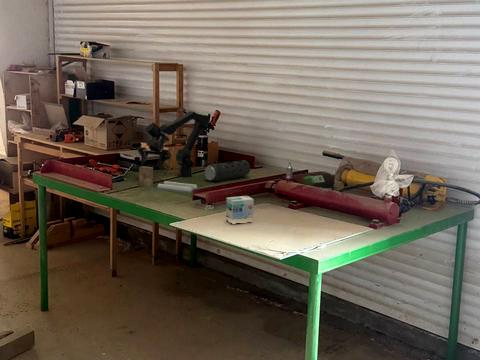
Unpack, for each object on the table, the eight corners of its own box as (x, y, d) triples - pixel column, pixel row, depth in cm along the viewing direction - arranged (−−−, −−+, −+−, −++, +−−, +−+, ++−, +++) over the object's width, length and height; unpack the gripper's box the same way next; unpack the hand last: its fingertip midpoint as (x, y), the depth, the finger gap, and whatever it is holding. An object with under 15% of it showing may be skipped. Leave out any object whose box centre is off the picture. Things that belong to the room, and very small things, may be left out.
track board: (166, 185, 321) (166, 180, 320) (197, 189, 314) (197, 184, 314) (156, 189, 311) (156, 184, 310) (189, 193, 304) (189, 188, 304)
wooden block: (142, 184, 321) (142, 166, 319) (152, 185, 319) (152, 167, 317) (138, 185, 318) (138, 167, 315) (149, 186, 315) (149, 168, 313)
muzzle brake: (250, 178, 346) (250, 161, 344) (214, 184, 327) (214, 166, 325) (239, 175, 353) (239, 158, 351) (203, 181, 334) (203, 163, 332)
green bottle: (284, 198, 302) (285, 179, 300) (272, 194, 310) (273, 175, 308) (339, 190, 324) (340, 172, 322) (327, 186, 332) (328, 169, 330)
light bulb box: (231, 225, 252) (232, 201, 250) (225, 220, 258) (225, 197, 256) (253, 222, 257) (254, 198, 255) (246, 218, 263) (247, 195, 260)
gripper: (139, 132, 324) (128, 155, 317) (169, 135, 318) (159, 158, 310) (146, 144, 333) (136, 166, 325) (175, 147, 327) (166, 170, 319)
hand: (149, 165), depth 320 cm, fingers open, 9 cm apart
